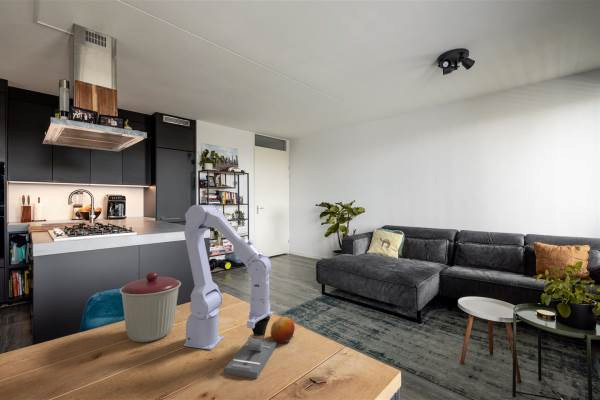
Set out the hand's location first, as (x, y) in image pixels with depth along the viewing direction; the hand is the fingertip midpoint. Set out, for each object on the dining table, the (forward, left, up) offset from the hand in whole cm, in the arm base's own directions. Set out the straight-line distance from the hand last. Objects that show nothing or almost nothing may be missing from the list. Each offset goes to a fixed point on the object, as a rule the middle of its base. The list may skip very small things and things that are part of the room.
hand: (259, 341), depth 82 cm
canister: (-39, 0, -3) cm, 39 cm away
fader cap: (0, -3, -1) cm, 3 cm away
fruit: (+5, +8, -3) cm, 10 cm away
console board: (0, -5, -2) cm, 5 cm away
